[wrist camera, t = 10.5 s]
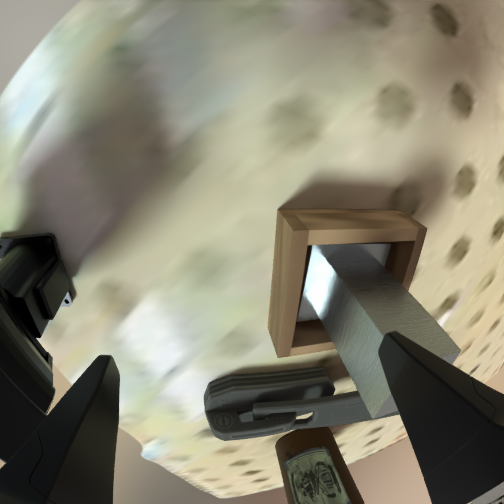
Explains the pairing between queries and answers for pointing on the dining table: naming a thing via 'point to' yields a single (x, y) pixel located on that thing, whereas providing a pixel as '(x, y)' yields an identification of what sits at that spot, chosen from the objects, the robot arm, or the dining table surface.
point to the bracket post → (365, 313)
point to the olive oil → (315, 469)
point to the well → (330, 232)
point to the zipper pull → (279, 403)
